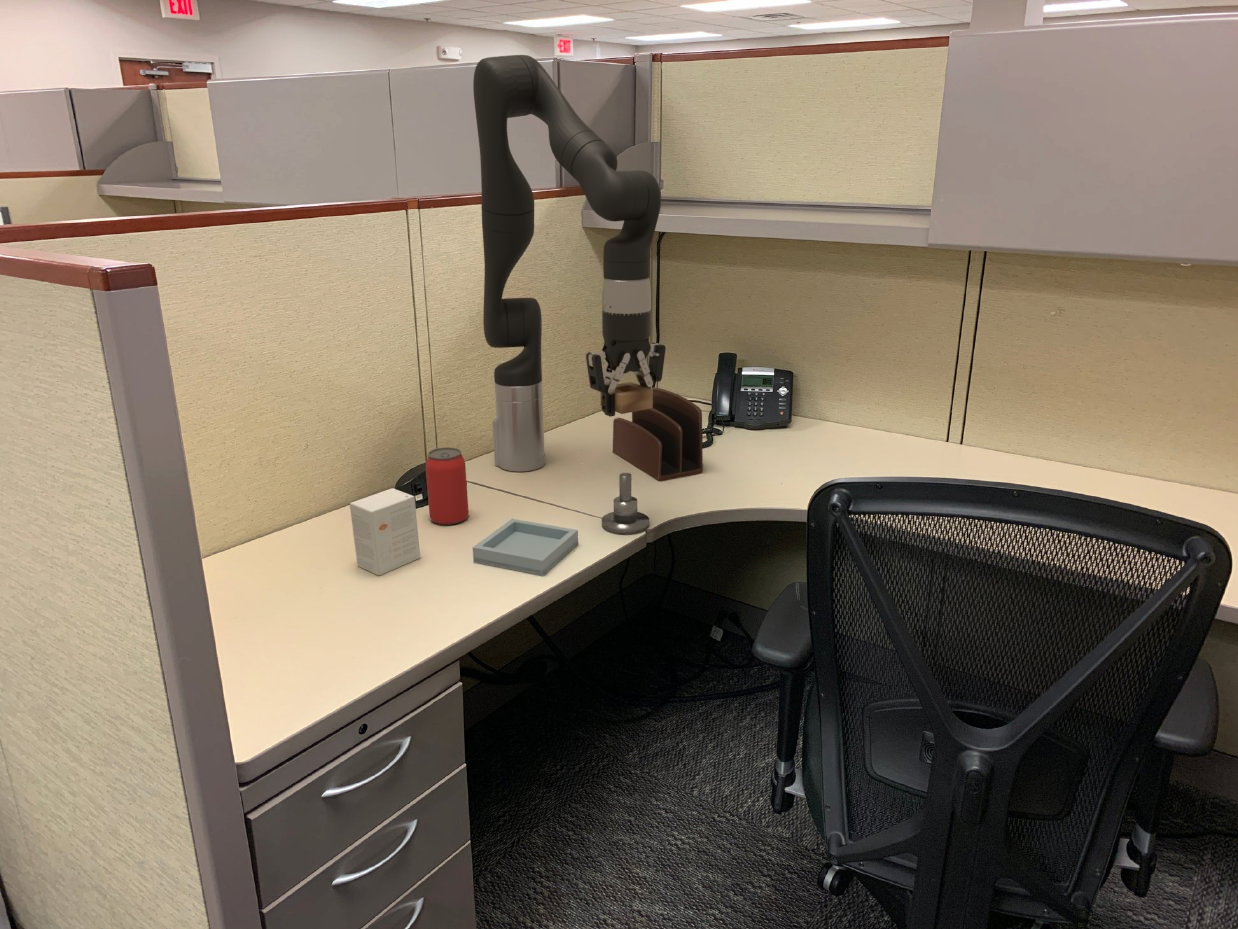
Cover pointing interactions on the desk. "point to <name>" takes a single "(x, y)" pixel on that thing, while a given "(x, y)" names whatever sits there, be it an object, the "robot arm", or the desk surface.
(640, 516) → the stepped metal shaft
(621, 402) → the wooden block
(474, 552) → the tray
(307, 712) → the desk surface
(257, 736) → the desk surface
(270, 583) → the desk surface
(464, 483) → the beer can
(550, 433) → the desk surface
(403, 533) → the small box
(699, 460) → the letter holder
